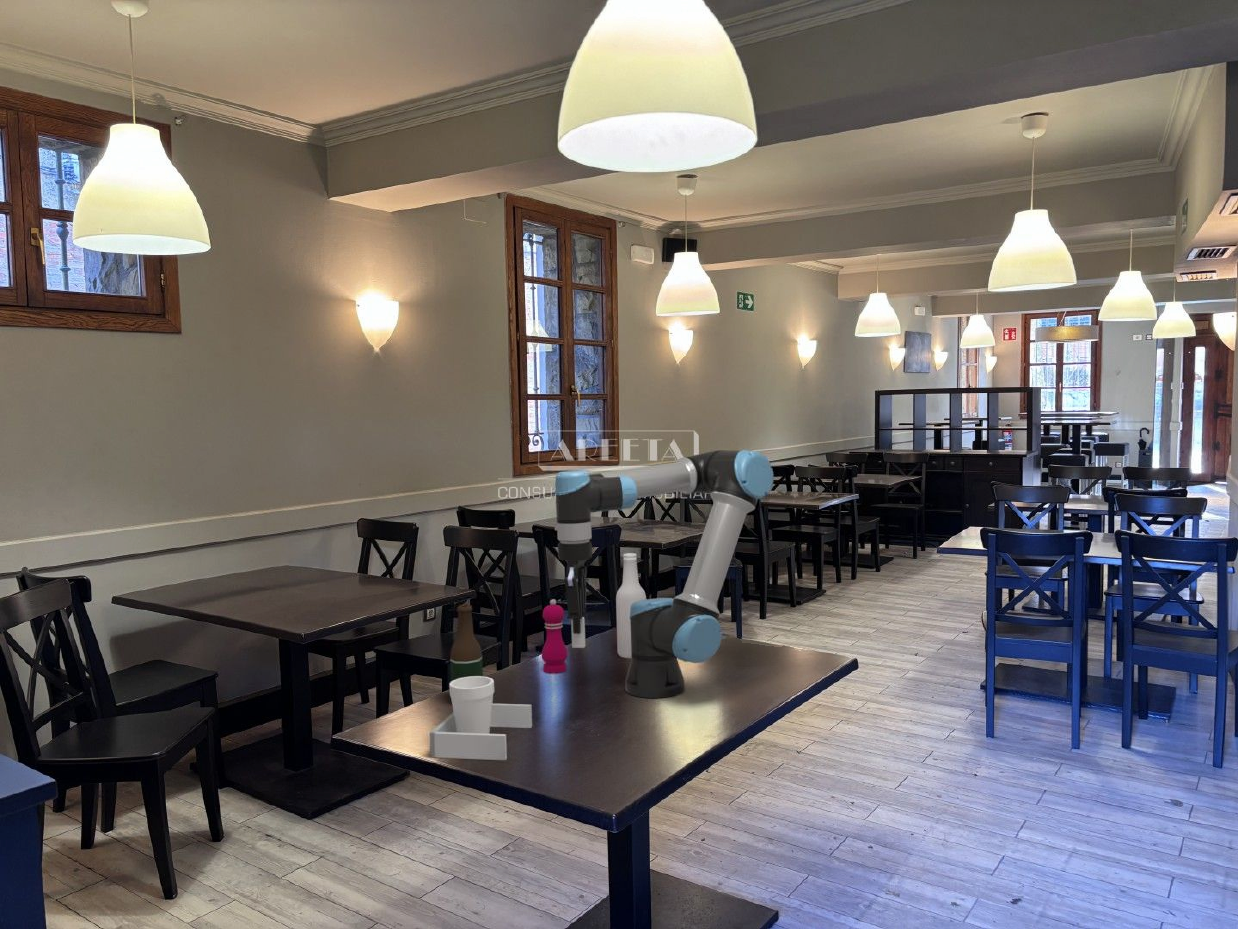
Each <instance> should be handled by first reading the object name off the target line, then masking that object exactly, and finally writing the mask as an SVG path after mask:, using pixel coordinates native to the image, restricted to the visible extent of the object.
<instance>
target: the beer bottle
mask: <svg viewBox="0 0 1238 929" xmlns="http://www.w3.org/2000/svg"><path fill="white" fill-rule="evenodd" d="M456 611H457V613H458V614H457V634H456V639H455V641H454V643H453V644H452V646H451V650H450V655H449V656H450V658H449V660H450V665H449V666H450V682H452V681H453V680H456V679H459V678H464V677H470V676H483V677H484V673H483V670H484V669H483V652H482V648H481V645H480V643H479V642H478V640H477V638H476V637H475V634H474V625H473V614H472V611H473V606H472V605H470V604H461V605H459V606H457V608H456Z"/></svg>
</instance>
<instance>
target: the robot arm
mask: <svg viewBox="0 0 1238 929" xmlns="http://www.w3.org/2000/svg"><path fill="white" fill-rule="evenodd" d="M774 479H775V478H774V471H773V468H772V467H771V462H770V461H769V459H768V458H767V457H766V455H764V454H763V453H761V452H759V451H755V450H749V449H742V450H725V449H719V450H711V451H707V452H703V453H698V454H695V455H690V456H684V457H680V458H678V459H677V460H676V461H675V462H671V463H670V462H669V463H663V464H656V465H647V466H642V467H641V466H639V467H634V468H626V469H620V470H613V471H607V472H606V471H604V472H598V473H592V474H589V472H588V471H587V470H571V471H559V472H558V473H557V474H556V475H555V484H554V494H555V510H556V526H555V527H554V531H557V532H556V533H557V540H558V541H559V542H558V543H557V557H558V560H560V561H563V562H564V561H566V563H567V566H566V568H565V571H564V575H565V576H564V578H563V581H564V586H565V592H566V593H565V595H566V603H567V614H568V615H567V620H570V624H571V625H570V626H571V630H570V631H571V648H572V649H573V648H574V649H576V648H577V649H578V648H579V649H584V648H585V647H586V628H585V627H586V625H585V622H586V621H585V617H588V615H589V614H588V612H586V611H587V575H588V574H587V572H588V569H587V567H586V566H585V564H584V563H585V562H584V561H587V560H591V559H592V557H593V548H592V547H593V546H592V542H591V541H590V540H592V536H593V535H592V520H591V519H592V518H591V515H592V513H598V512H608V511H609V512H610V511H623V510H626V509H628V510H629V509H631V508H633V507H634V506H635V505H636V503H637V499H641V498H642V499H643V498H646V497H653V496H660V495H665V494H672V493H677V492H681V493H682V494H684V495H690V494H706V495H707V494H709V496H710V498H711V500H712V502H713V504H712V506H711V510H710V512H709V516H708V518H707V521H706V524H705V527H704V530H703V533H702V535H701V538H700V540H699V541H700V542H699V544H698V548H697V549H696V554H695V556H694V559H693V562H692V565H691V567H690V571H689V572H688V576H687V579H686V582H685V585H684V588H683V591H682V593H680V594H678V595H676V596H674V598H671V597H660V598H659V597H658V598H657V597H656V598H648V599H647V598H646V600H641V601H637V602H634V603H633V604H632V605H631V609H630V625H631V658H630V659H631V661H630V664H629V667H628V670H627V674H626V677H625V681H624V683H625V686H624V687H625V689H624V690H625V692H626V693H628V694H629V695H631V696H634V697H639V698H647V699H649V698H650V699H659V698H668V697H674V696H677V695H680V694H681V693H683V692H684V691H685V689H686V688H685V678H684V675H683V673H682V670H681V667H680V666H681V665H680V663H679V661H682V662H684V663H692V664H700V663H705V661H708V660H709V659H711V658H712V657H713V656H714V655H715V654H716V652H718V650H719V648H720V645H721V643H722V640H723V631H722V630H721V629H722V626H721V624H720V622H719V617H720V611H719V609H718V607H717V603H718V601H719V598H720V594H721V590H722V589H723V586H724V582H725V579H726V577H727V573H728V571H729V567H730V564H731V561H732V558H733V555H734V552H735V550H736V546H737V544H738V543H737V542H738V541H739V537H740V535H741V531H742V528H743V525H744V522H745V519H746V517H747V514H748V513H751V512H753V511H754V510H755V509H756V506H757V503H758V500H759V499H762V498H764V497H766V496H767V495H768V494H769V493H770V492H771V490H772V488H773V485H774ZM678 660H679V661H678Z"/></svg>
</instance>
